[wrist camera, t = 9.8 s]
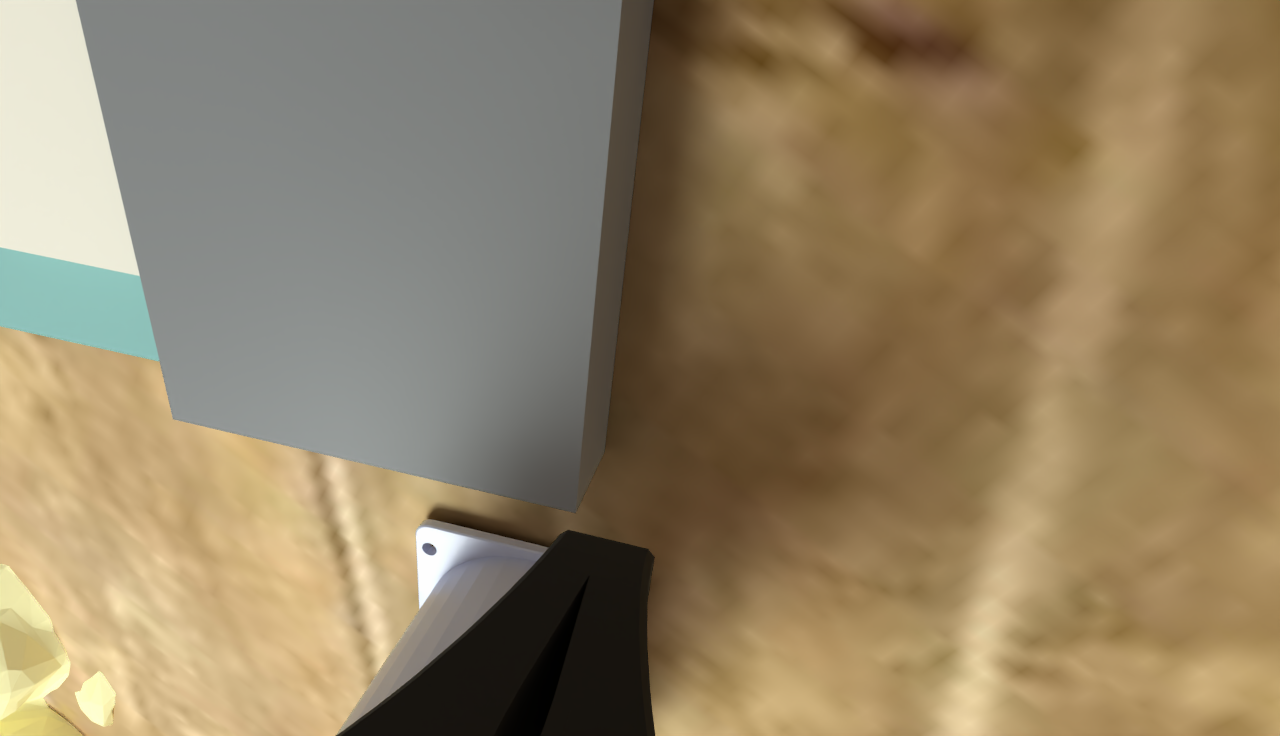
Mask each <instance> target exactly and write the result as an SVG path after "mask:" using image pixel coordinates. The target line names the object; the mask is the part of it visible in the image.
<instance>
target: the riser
mask: <svg viewBox="0 0 1280 736" xmlns="http://www.w3.org/2000/svg"><path fill="white" fill-rule="evenodd" d="M76 4H77V8H78V12H79V17H80V21H81V25H82V30H83V34H84V38H85V42H86V47H87V51H88V55H89V60H90V64H91V68H92V73H93V77H94V81H95V85H96V90H97V94H98V98H99V103H100V107H101V111H102V116H103V120H104V124H105V128H106V133H107V137H108V141H109V146H110V150H111V154H112V159H113V163H114V167H115V171H116V176H117V180H118V184H119V189H120V193H121V197H122V202H123V206H124V210H125V214H126V219H127V223H128V227H129V232H130V236H131V240H132V245H133V249H134V253H135V257H136V262H137V266H138V270H139V275H140V279H141V283H142V288H143V292H144V296H145V300H146V305H147V309H148V313H149V318H150V322H151V326H152V331H153V335H154V339H155V343H156V348H157V352H158V356H159V361H160V365H161V369H162V374H163V378H164V382H165V386H166V391H167V395H168V399H169V404H170V408H171V412H172V417H173V419H174V420H179V421H183V422H187V423H191V424H196V425H200V426H204V427H209V428H213V429H217V430H221V431H226V432H230V433H234V434H239V435H243V436H247V437H251V438H256V439H260V440H264V441H269V442H273V443H277V444H281V445H286V446H290V447H294V448H299V449H303V450H307V451H311V452H316V453H320V454H324V455H329V456H333V457H337V458H342V459H346V460H350V461H354V462H359V463H363V464H367V465H372V466H376V467H380V468H384V469H389V470H393V471H397V472H402V473H406V474H410V475H414V476H419V477H423V478H427V479H432V480H436V481H440V482H444V483H449V484H453V485H457V486H462V487H466V488H470V489H474V490H479V491H483V492H487V493H492V494H496V495H500V496H504V497H509V498H513V499H517V500H522V501H526V502H530V503H535V504H539V505H543V506H547V507H552V508H556V509H560V510H565V511H569V512H573V513H576V511H577V509H578V507H579V505H580V503H581V501H582V499H583V496H584V494H585V492H586V490H587V488H588V486H589V484H590V482H591V480H592V477H593V475H594V473H595V471H596V469H597V467H598V465H599V463H600V460H601V458H602V456H603V454H604V452H605V443H606V434H607V425H608V416H609V407H610V398H611V389H612V379H613V370H614V361H615V352H616V343H617V334H618V325H619V315H620V306H621V297H622V288H623V279H624V270H625V260H626V251H627V242H628V233H629V224H630V215H631V206H632V196H633V187H634V178H635V169H636V160H637V151H638V142H639V132H640V123H641V114H642V105H643V96H644V87H645V77H646V68H647V59H648V50H649V41H650V32H651V23H652V13H653V4H654V0H76Z"/></svg>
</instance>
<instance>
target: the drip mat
mask: <svg viewBox="0 0 1280 736" xmlns="http://www.w3.org/2000/svg"><path fill="white" fill-rule="evenodd" d="M0 326H2V327H6V328H11V329H15V330H20V331H24V332H29V333H33V334H38V335H42V336H47V337H51V338H56V339H60V340H65V341H70V342H74V343H79V344H83V345H88V346H92V347H97V348H101V349H106V350H110V351H115V352H119V353H124V354H128V355H133V356H137V357H142V358H146V359H151V360H155V361H159V356H158V352H157V348H156V343H155V339H154V335H153V331H152V326H151V322H150V318H149V313H148V309H147V305H146V300H145V296H144V292H143V288H142V283H141V279H140V276H137V275H132V274H127V273H123V272H118V271H113V270H108V269H103V268H98V267H94V266H89V265H84V264H79V263H74V262H69V261H64V260H60V259H55V258H50V257H45V256H40V255H35V254H30V253H26V252H21V251H16V250H11V249H6V248H1V247H0Z"/></svg>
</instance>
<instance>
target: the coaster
mask: <svg viewBox="0 0 1280 736" xmlns="http://www.w3.org/2000/svg"><path fill="white" fill-rule="evenodd" d="M0 247H1V248H6V249H11V250H16V251H21V252H26V253H30V254H35V255H40V256H45V257H50V258H55V259H60V260H64V261H69V262H74V263H79V264H84V265H89V266H94V267H98V268H103V269H108V270H113V271H118V272H123V273H127V274H132V275H137V276H140V275H139V270H138V266H137V262H136V257H135V253H134V249H133V245H132V240H131V236H130V232H129V227H128V223H127V219H126V214H125V210H124V206H123V202H122V197H121V193H120V189H119V184H118V180H117V176H116V171H115V167H114V163H113V159H112V154H111V150H110V146H109V141H108V137H107V133H106V128H105V124H104V120H103V116H102V111H101V107H100V103H99V98H98V94H97V90H96V85H95V81H94V77H93V73H92V68H91V64H90V60H89V55H88V51H87V47H86V42H85V38H84V34H83V30H82V25H81V21H80V17H79V12H78V8H77V4H76V0H0Z"/></svg>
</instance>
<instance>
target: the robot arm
mask: <svg viewBox="0 0 1280 736" xmlns="http://www.w3.org/2000/svg"><path fill="white" fill-rule="evenodd" d="M429 543H430V544H432V545H434V547H433V546H431V545H430V544H429ZM416 549H417V571H418V592H419V611H418V613H417V614H416V616H415V617H414V619H413V620H412V622H411V623H410V625H409V626H408V628H407V629H406V631H405V632H404V634H403V635H402V637H401V638H400V640H399V641H398V643H397V644H396V646H395V647H394V649H393V650H392V652H391V653H390V655H389V656H388V658H387V659H386V661H385V662H384V664H383V665H382V667H381V668H380V670H379V671H378V673H377V674H376V676H375V677H374V679H373V680H372V682H371V683H370V685H369V686H368V688H367V689H366V691H365V692H364V694H363V695H362V697H361V698H360V700H359V702H358V703H357V705H356V706H355V708H354V709H353V711H352V712H351V714H350V715H349V717H348V718H347V720H346V721H345V723H344V724H343V726H342V727H341V729H340V730H339V732H338V733H337V735H336V736H655V730H654V722H653V714H652V705H651V694H650V682H649V666H648V650H647V601H648V595H649V589H650V582H651V576H652V570H653V564H654V558H655V557H654V556H653V555H652V553H651V552H650V551H649V549H646V548H641V547H637V546H633V545H629V544H625V543H620V542H616V541H612V540H608V539H604V538H600V537H595V536H591V535H587V534H583V533H579V532H574V531H570V530H567V531H565V532H563V533H562V534H560V535H559V536H558V537H557V539H556V540H555V541H554V542H553V543H552V545H551V546H550V547H545V546H541V545H537V544H532V543H528V542H524V541H520V540H516V539H512V538H508V537H503V536H499V535H495V534H491V533H487V532H483V531H479V530H475V529H470V528H466V527H462V526H458V525H454V524H450V523H446V522H441V521H437V520H432V519H427V520H424V521H423V522H422V523H421V524H420V526H419V527H418V528H417V530H416Z"/></svg>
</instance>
